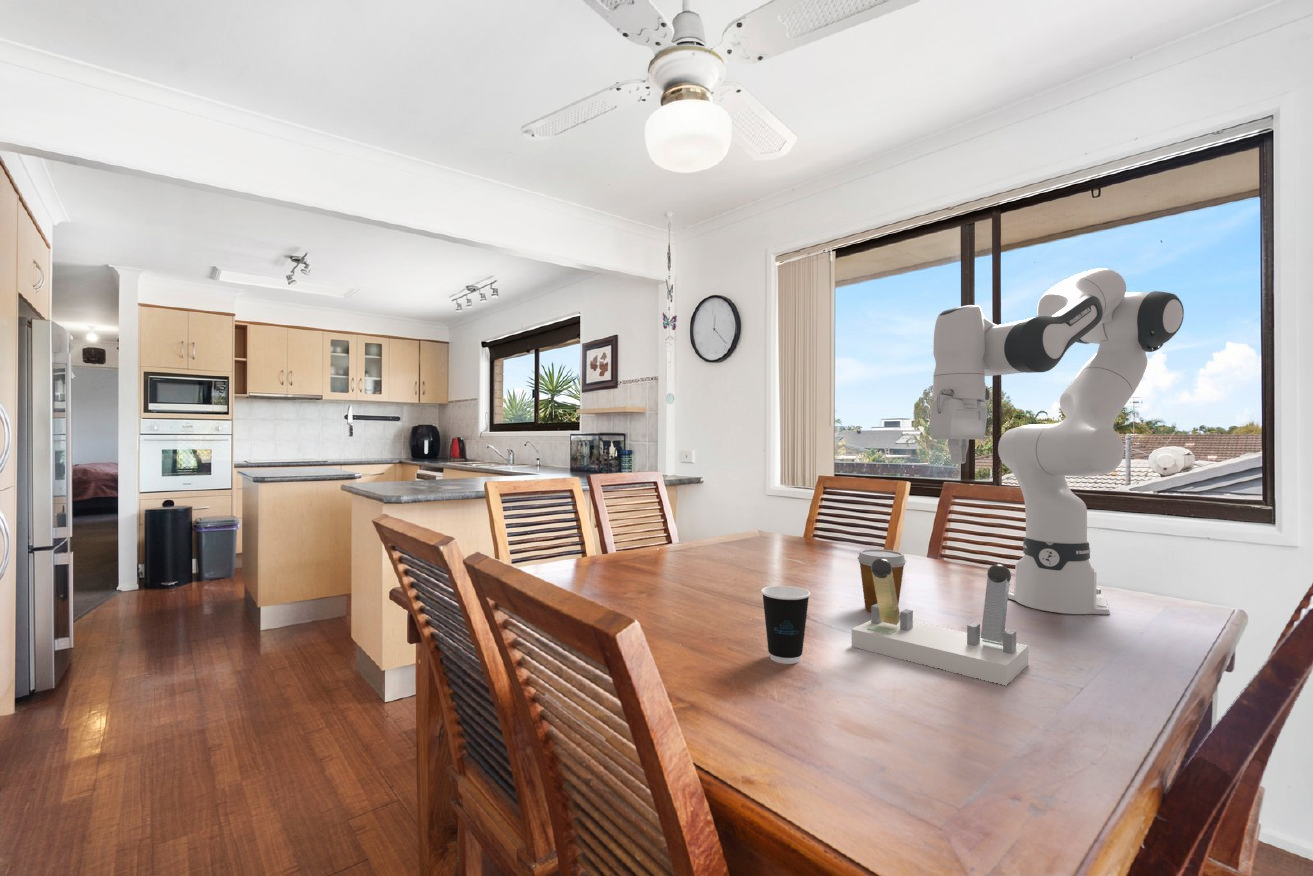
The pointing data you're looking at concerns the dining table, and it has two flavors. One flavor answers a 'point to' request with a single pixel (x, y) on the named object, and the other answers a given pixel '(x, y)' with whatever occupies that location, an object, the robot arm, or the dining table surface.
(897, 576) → the disposable coffee cup
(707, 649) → the dining table surface
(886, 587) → the brass lever
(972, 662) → the switch panel
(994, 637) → the steel lever
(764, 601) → the dixie cup
